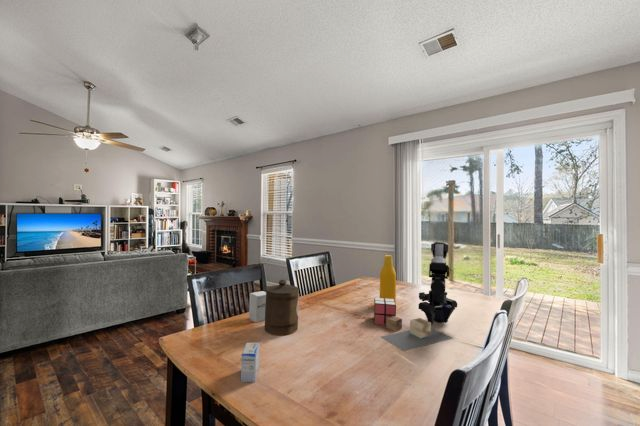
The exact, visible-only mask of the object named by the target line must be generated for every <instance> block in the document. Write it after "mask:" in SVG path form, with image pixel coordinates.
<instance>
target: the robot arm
mask: <svg viewBox="0 0 640 426" xmlns="http://www.w3.org/2000/svg"><path fill="white" fill-rule="evenodd" d="M430 246H431V247H430V252H431V253H432V258H431V259H430V260H431V261H430V263H429V265H428V266H429V267H428V278H431V282H430V290H429V291H428V293H425V292H424V291H422V292H418V298H419V299H418V300H420V301H421V302H419V303H418V310H420V311H421V312H423V313H424V315H425V317H426V319H427V320H426V321H428V322H431V327H432V326H433V324H434V322H436V323H439V324H441V323H445V324H446V323H447V322H449V318H450V316H451V315H452V314H453V312H454V311H455V310H456V308H458V302H457V300H454V299H452V298H448V297H447V295H448V292H447V291H446V280H448V278H450V267H449V264H447V257H448V255H447V254H448V253H449V245H448V244H447V243H446V242H444V241H434V242H433V243H431V244H430Z"/></svg>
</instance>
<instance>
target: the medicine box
mask: <svg viewBox="0 0 640 426" xmlns="http://www.w3.org/2000/svg"><path fill="white" fill-rule="evenodd" d="M245 343H246V344H245V346H244V348H243V350H242V353H241V361H240V362H241V363H240V364H241V365H240V367H241V368H240V382H241V383H255V382H256V380H257V375H258V370H259V366H260V365H259V362H260V342H245Z"/></svg>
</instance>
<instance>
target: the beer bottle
mask: <svg viewBox="0 0 640 426" xmlns="http://www.w3.org/2000/svg"><path fill="white" fill-rule="evenodd" d="M393 263H394V262H393V255H390V254H385V255H384V258H383V265H382V268H381V270H380V272H379V298H384V299H394V300H395V304H396V305H397V294H396V293H397V292H396V291H397V274H396V273H397V272H396V271H395V270H396V269H395V268H394V265H393Z"/></svg>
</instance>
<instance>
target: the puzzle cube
mask: <svg viewBox="0 0 640 426" xmlns="http://www.w3.org/2000/svg"><path fill="white" fill-rule="evenodd" d="M373 299H374V301H373V304H374V306H373V323H374V324H375V325H376V324H377V325H386V318H387V317H390V316H396V317H397V303H396V304H395V300H394V299H384V298H380V297H375V298H373Z"/></svg>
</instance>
